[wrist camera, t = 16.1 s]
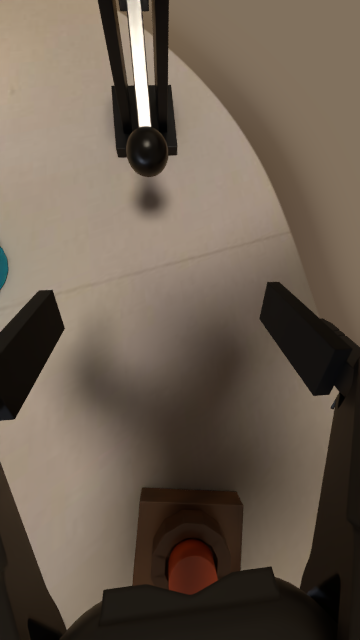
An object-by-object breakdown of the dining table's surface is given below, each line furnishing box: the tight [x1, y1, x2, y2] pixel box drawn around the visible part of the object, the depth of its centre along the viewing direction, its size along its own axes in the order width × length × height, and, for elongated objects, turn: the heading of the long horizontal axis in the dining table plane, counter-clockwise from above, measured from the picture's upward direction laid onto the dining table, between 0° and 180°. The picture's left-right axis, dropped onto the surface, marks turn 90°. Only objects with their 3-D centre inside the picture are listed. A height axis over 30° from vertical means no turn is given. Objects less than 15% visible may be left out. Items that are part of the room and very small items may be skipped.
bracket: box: [98, 0, 177, 157], centre depth 22 cm, size 8×7×14 cm
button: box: [168, 539, 218, 595], centre depth 20 cm, size 4×4×2 cm
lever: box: [119, 0, 168, 177], centre depth 19 cm, size 14×4×4 cm, turn 6°
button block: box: [132, 488, 243, 590], centre depth 22 cm, size 10×8×4 cm
